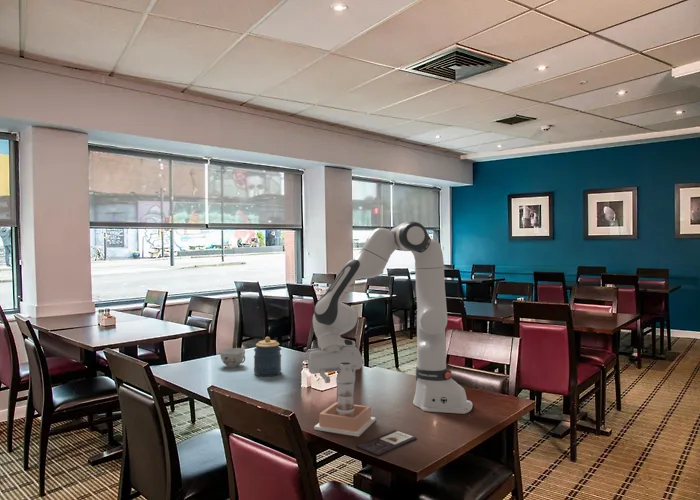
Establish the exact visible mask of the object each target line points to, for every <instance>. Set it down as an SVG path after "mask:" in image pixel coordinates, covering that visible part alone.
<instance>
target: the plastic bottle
mask: <svg viewBox="0 0 700 500" xmlns="http://www.w3.org/2000/svg"><path fill="white" fill-rule="evenodd" d="M340 369H341V371H338V374H337V376H336V378H335V382H336V389H337V401H336V402H337V409H336V415H340V416H347V417H355V411H354V405H355V404H354V390H355V382H356V376H355V377H354V375H353V374H352V372H351V371H350V369H351V363H348V362H343V363H340Z"/></svg>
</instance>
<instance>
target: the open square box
mask: <svg viewBox="0 0 700 500" xmlns="http://www.w3.org/2000/svg"><path fill="white" fill-rule="evenodd" d="M336 409H337V401H336V402H334V403H333V404H331V405H329V406H328V407H327V408H325V409H324V410H322V411H320V413H319V415H318V416H319V417H318V418H319V419H318V421H319V422H318V423H317V424H315V425H314V426H313V430H315V431H322V432H328V433H333V434H340V435H346V436H354V437H358V438H359V437H360V436H361V435H362V434H363V433H364V432H366V430H368V428H369V427H371V425H372V424H373V423H375V421H376V420H377V419H376V417H375V416H372V414H371V413H372V410H371V409H372V406H367V405H360V404H354V411H355V417H347V416H340V415H336Z"/></svg>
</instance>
